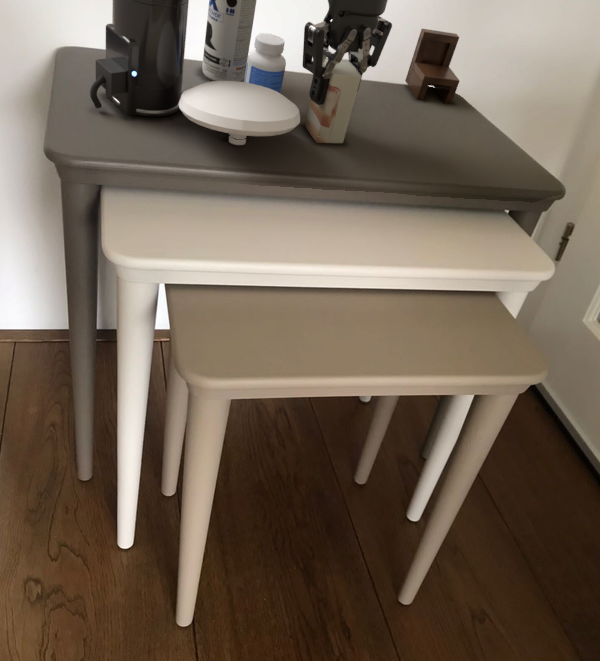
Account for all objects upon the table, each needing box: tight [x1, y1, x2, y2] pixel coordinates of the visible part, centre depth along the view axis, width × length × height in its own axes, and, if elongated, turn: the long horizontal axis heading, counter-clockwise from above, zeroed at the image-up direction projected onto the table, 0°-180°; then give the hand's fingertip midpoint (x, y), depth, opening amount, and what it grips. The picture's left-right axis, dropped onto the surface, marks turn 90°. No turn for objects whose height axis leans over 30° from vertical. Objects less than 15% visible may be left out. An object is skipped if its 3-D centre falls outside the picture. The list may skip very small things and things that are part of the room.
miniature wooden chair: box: [404, 28, 460, 104], centre depth 112 cm, size 6×7×9 cm
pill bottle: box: [243, 32, 287, 95], centre depth 94 cm, size 6×5×10 cm
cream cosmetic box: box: [304, 58, 362, 144], centre depth 92 cm, size 5×4×10 cm
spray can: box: [201, 0, 257, 82], centre depth 96 cm, size 7×7×20 cm
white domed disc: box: [178, 80, 301, 146], centre depth 86 cm, size 16×16×7 cm
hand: (332, 98), depth 91 cm, fingers closed on cream cosmetic box, 5 cm apart
